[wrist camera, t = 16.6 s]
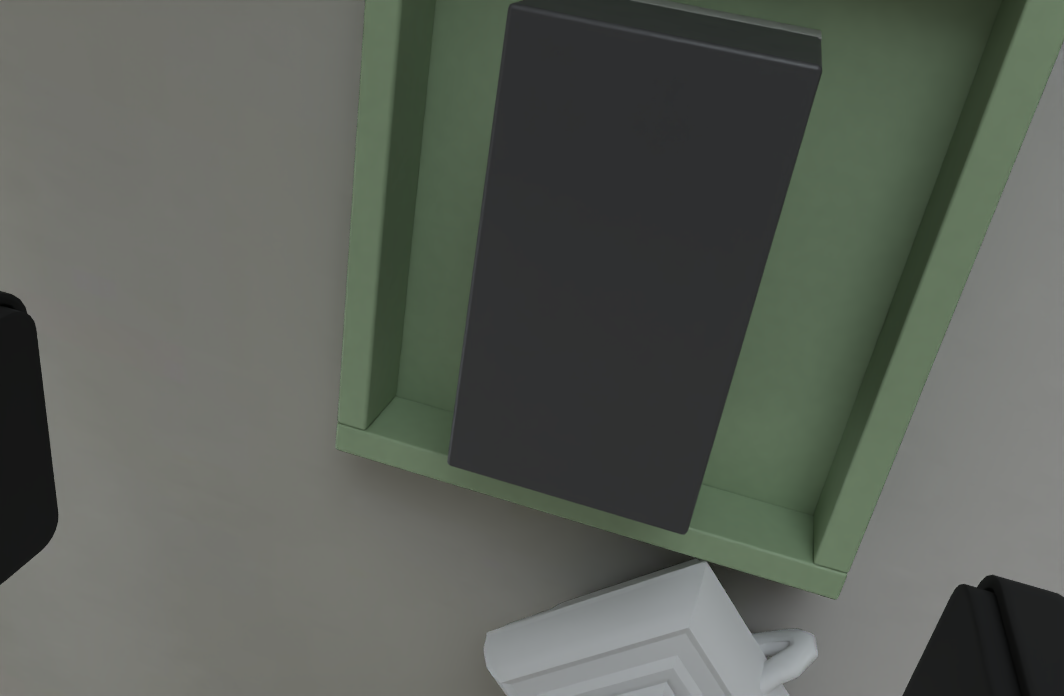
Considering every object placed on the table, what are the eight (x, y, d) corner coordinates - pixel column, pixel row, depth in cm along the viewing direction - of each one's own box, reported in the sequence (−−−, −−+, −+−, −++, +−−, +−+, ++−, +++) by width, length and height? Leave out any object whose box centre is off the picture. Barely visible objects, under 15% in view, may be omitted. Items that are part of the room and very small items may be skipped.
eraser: (578, -17, 19) (507, 1, 15) (822, 30, 18) (824, 65, 14) (515, 362, 23) (444, 466, 19) (711, 416, 22) (686, 537, 18)
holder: (430, -204, 19) (378, -221, 17) (1080, -99, 17) (1122, -101, 14) (376, 402, 25) (333, 450, 23) (835, 535, 23) (837, 601, 21)
